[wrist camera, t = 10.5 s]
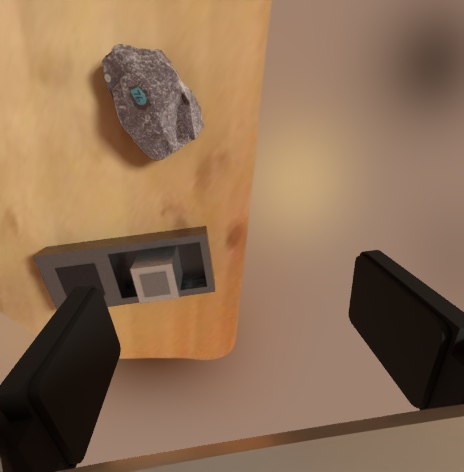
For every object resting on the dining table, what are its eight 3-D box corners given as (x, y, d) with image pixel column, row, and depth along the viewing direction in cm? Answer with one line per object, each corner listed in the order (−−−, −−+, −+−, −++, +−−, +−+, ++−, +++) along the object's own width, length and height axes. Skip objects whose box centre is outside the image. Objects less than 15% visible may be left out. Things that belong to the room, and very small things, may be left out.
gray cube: (141, 248, 37) (129, 270, 31) (176, 243, 37) (171, 264, 32) (149, 278, 39) (139, 304, 33) (182, 274, 39) (179, 298, 34)
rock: (154, 28, 28) (145, 12, 24) (212, 127, 33) (213, 127, 28) (95, 73, 29) (76, 64, 25) (158, 162, 34) (151, 168, 29)
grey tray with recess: (46, 247, 36) (32, 257, 33) (206, 226, 37) (206, 234, 34) (68, 300, 40) (58, 314, 37) (214, 280, 41) (215, 291, 38)
